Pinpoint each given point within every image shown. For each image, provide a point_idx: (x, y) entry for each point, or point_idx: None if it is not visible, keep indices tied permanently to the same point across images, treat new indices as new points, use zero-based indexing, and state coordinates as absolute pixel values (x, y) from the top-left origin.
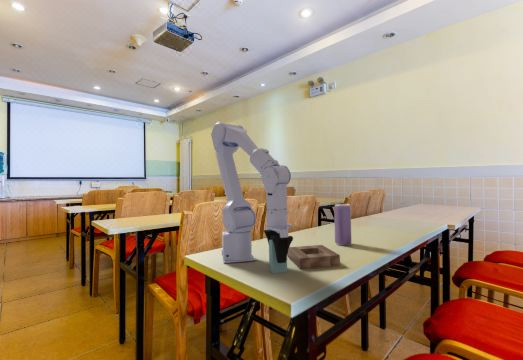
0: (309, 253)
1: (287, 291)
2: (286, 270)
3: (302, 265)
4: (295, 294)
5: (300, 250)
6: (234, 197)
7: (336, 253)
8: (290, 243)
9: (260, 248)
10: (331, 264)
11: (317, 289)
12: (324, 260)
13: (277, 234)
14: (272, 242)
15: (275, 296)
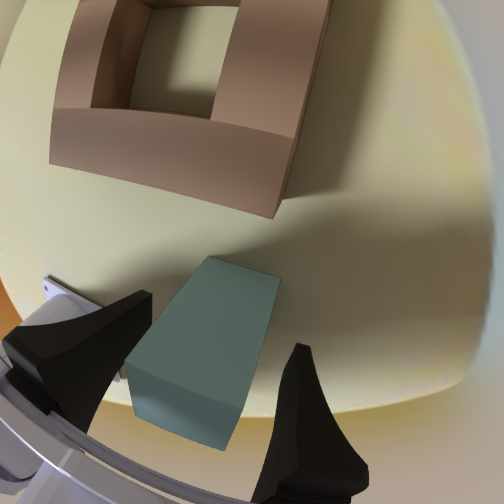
0: (125, 45)
1: (427, 366)
2: (278, 285)
3: (284, 189)
4: (455, 357)
5: (113, 111)
6: None
7: None
8: (350, 445)
9: (6, 211)
10: (329, 9)
11: (489, 285)
12: (321, 37)
13: (75, 376)
14: (204, 442)
15: (420, 396)
